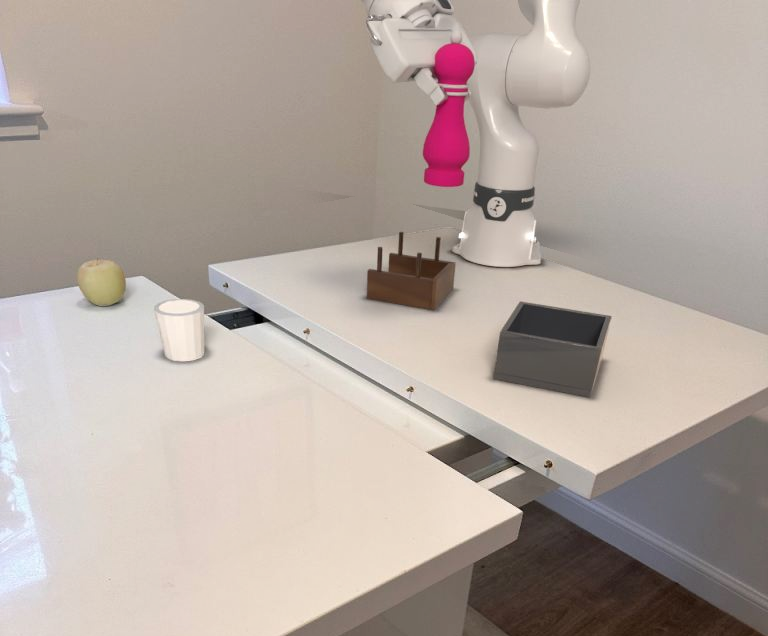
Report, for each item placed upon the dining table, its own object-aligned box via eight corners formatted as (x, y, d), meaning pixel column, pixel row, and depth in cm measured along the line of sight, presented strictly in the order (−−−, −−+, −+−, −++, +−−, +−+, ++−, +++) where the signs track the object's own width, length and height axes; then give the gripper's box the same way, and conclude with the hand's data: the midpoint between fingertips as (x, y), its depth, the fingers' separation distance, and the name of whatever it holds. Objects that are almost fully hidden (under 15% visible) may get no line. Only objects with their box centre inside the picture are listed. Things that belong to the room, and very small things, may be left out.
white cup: (192, 340, 108) (187, 294, 104) (218, 355, 104) (213, 307, 100) (151, 352, 104) (143, 304, 100) (176, 367, 100) (170, 319, 96)
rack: (389, 279, 136) (391, 230, 130) (453, 289, 132) (458, 239, 127) (366, 298, 126) (368, 246, 121) (434, 310, 123) (438, 256, 118)
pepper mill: (450, 190, 109) (464, 31, 97) (411, 182, 112) (421, 28, 100) (475, 183, 113) (491, 31, 102) (437, 176, 117) (449, 28, 105)
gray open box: (512, 345, 112) (519, 301, 108) (601, 360, 108) (611, 315, 104) (493, 379, 101) (500, 331, 97) (590, 397, 98) (601, 349, 94)
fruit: (138, 303, 120) (130, 254, 115) (98, 314, 115) (89, 263, 110) (111, 292, 123) (103, 244, 119) (72, 302, 119) (62, 252, 114)
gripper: (374, -5, 96) (428, 88, 97) (456, 0, 109) (503, 81, 110) (347, 33, 100) (400, 121, 101) (429, 33, 114) (475, 111, 115)
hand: (454, 100), depth 106 cm, fingers closed on pepper mill, 5 cm apart
